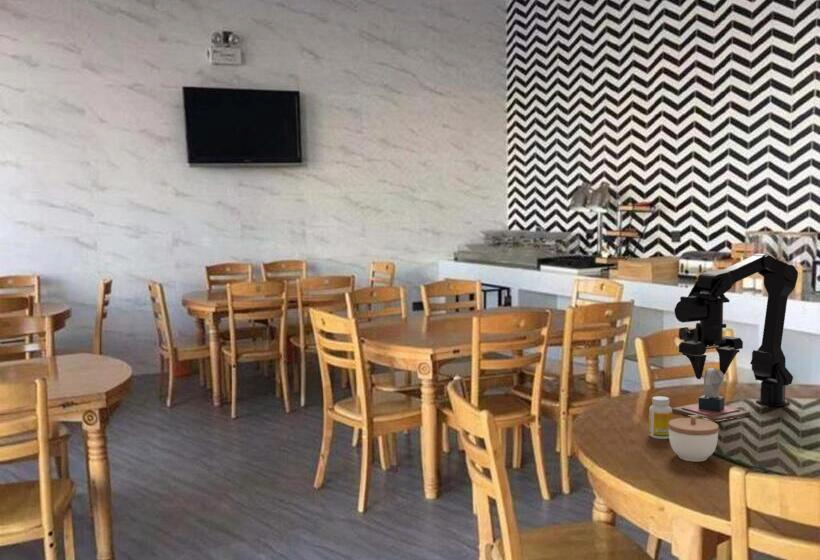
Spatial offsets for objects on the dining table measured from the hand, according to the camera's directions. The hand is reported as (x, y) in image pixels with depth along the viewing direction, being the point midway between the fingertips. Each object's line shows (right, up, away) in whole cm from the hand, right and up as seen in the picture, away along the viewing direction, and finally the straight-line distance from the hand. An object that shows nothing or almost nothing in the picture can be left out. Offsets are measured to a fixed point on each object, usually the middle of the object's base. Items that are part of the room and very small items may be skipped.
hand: (710, 376), depth 213 cm
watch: (+1, -9, +1) cm, 9 cm away
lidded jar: (-18, -14, -35) cm, 42 cm away
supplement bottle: (-20, -13, -19) cm, 30 cm away
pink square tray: (0, -10, +1) cm, 10 cm away
